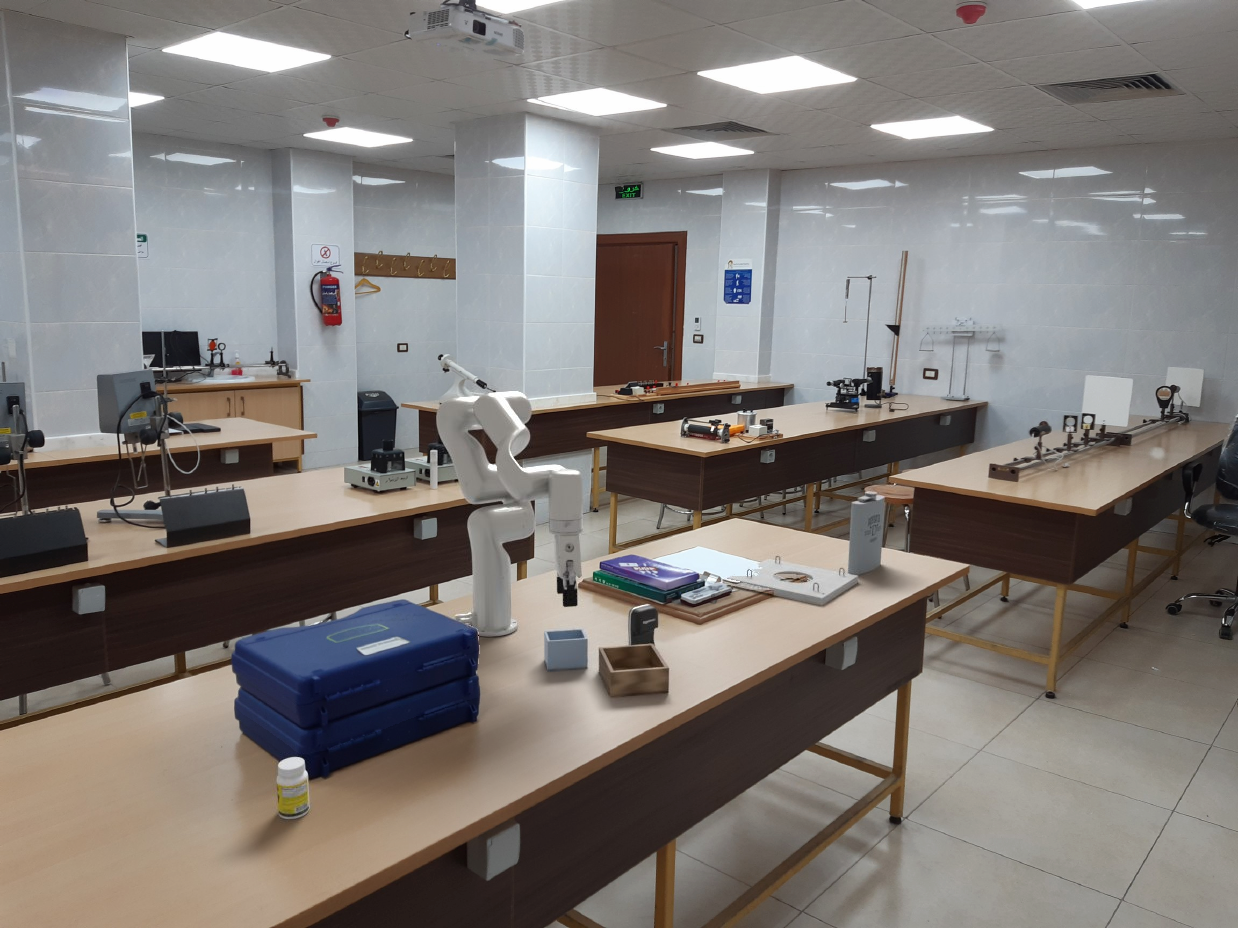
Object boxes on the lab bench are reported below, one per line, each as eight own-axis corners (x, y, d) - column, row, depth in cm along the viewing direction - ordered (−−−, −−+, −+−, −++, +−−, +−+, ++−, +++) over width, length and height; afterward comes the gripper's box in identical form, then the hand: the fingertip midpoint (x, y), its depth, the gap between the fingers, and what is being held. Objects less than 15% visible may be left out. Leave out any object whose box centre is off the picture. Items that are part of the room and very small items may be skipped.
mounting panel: (822, 589, 238) (727, 570, 256) (821, 607, 239) (726, 586, 257) (858, 568, 260) (768, 551, 277) (857, 584, 261) (767, 566, 278)
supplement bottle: (283, 803, 140) (280, 755, 138) (313, 802, 140) (310, 754, 139) (274, 820, 135) (271, 771, 134) (305, 819, 135) (302, 770, 134)
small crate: (547, 671, 193) (547, 641, 192) (544, 659, 199) (544, 631, 198) (587, 668, 195) (587, 638, 194) (582, 657, 201) (582, 628, 200)
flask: (859, 575, 267) (864, 496, 263) (846, 572, 270) (850, 494, 266) (884, 564, 280) (889, 488, 276) (871, 561, 283) (876, 486, 279)
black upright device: (637, 659, 200) (637, 612, 198) (627, 654, 203) (627, 607, 201) (660, 652, 204) (660, 606, 202) (649, 647, 207) (650, 602, 205)
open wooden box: (610, 697, 180) (610, 672, 179) (598, 670, 194) (598, 647, 193) (668, 692, 183) (669, 667, 182) (652, 666, 196) (653, 643, 195)
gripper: (589, 533, 184) (589, 610, 186) (576, 516, 201) (577, 587, 203) (554, 535, 182) (555, 612, 185) (544, 517, 199) (545, 589, 202)
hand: (567, 599), depth 194 cm, fingers open, 9 cm apart
